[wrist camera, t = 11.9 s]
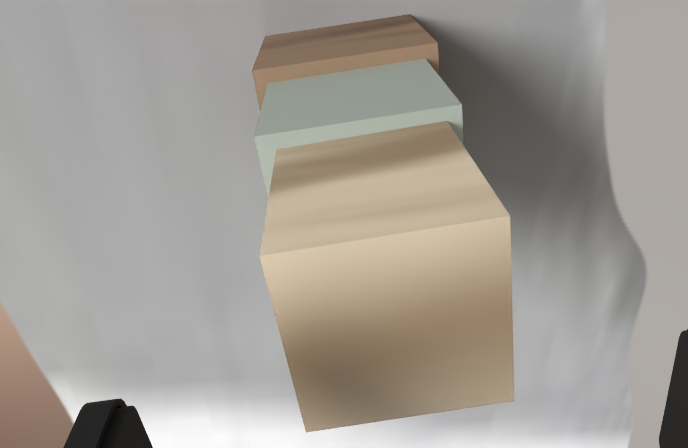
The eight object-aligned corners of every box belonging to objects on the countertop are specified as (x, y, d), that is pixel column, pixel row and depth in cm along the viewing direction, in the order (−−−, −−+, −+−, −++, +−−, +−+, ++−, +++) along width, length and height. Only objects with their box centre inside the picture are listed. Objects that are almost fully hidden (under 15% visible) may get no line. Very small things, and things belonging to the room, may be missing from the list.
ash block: (276, 149, 17) (259, 256, 11) (447, 120, 17) (510, 215, 11) (307, 289, 19) (305, 432, 14) (457, 265, 19) (514, 401, 14)
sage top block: (267, 83, 22) (253, 136, 17) (425, 58, 22) (461, 104, 16) (296, 221, 25) (292, 305, 19) (436, 200, 24) (470, 278, 19)
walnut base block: (265, 36, 28) (252, 70, 22) (409, 14, 28) (437, 42, 21) (291, 169, 31) (286, 232, 25) (420, 150, 31) (447, 209, 25)
